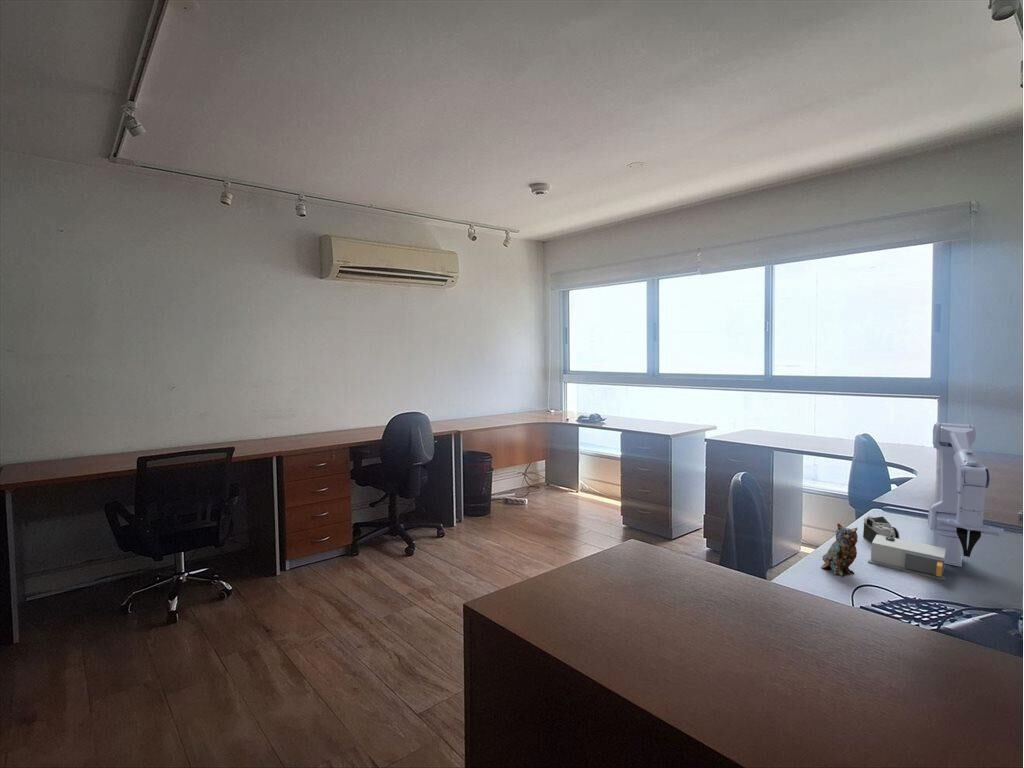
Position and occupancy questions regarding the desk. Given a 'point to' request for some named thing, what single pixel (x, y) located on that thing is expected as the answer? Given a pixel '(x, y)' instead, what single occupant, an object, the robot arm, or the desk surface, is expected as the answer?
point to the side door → (924, 564)
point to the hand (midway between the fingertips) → (966, 555)
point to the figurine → (841, 552)
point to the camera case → (902, 553)
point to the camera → (878, 528)
